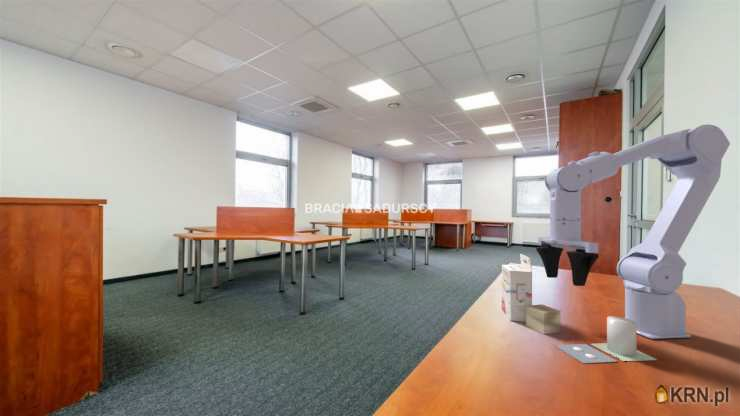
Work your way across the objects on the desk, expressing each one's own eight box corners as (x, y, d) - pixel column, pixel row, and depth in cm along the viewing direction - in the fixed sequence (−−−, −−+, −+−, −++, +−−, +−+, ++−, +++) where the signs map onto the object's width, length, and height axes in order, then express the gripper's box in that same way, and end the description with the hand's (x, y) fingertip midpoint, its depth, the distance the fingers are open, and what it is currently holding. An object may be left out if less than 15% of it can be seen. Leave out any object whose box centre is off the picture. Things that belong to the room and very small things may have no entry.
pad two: (585, 344, 55) (585, 343, 55) (617, 361, 48) (617, 360, 48) (554, 345, 54) (554, 344, 54) (583, 363, 48) (583, 362, 48)
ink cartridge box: (500, 309, 75) (500, 252, 75) (521, 310, 74) (521, 253, 74) (509, 321, 66) (509, 257, 67) (533, 323, 65) (533, 258, 66)
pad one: (620, 343, 56) (620, 342, 56) (657, 360, 49) (657, 358, 49) (590, 344, 55) (590, 343, 55) (623, 361, 48) (623, 360, 48)
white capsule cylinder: (620, 345, 54) (620, 315, 54) (642, 355, 50) (642, 324, 50) (601, 346, 54) (601, 316, 54) (622, 356, 50) (622, 324, 50)
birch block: (542, 324, 65) (542, 304, 65) (560, 332, 61) (560, 310, 61) (526, 326, 64) (526, 305, 64) (543, 334, 59) (543, 312, 59)
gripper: (527, 219, 71) (526, 274, 71) (575, 220, 57) (575, 290, 56) (553, 219, 72) (553, 274, 72) (607, 221, 57) (607, 289, 57)
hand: (564, 281), depth 64 cm, fingers open, 7 cm apart
